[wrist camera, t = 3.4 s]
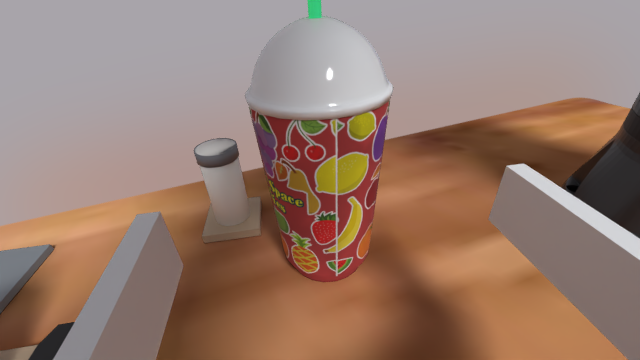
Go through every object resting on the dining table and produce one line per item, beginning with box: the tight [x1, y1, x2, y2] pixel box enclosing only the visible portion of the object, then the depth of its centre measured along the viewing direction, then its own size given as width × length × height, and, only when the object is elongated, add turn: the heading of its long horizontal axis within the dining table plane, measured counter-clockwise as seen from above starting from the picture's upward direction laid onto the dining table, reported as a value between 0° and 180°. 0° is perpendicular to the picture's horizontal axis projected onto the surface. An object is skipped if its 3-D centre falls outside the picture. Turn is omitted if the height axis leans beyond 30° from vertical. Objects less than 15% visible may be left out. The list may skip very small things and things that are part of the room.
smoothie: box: [245, 0, 393, 282], centre depth 19 cm, size 8×8×20 cm
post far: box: [194, 138, 262, 243], centre depth 26 cm, size 5×5×8 cm
